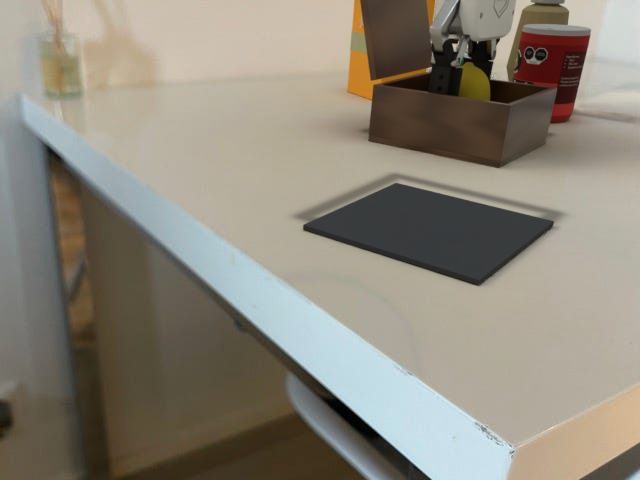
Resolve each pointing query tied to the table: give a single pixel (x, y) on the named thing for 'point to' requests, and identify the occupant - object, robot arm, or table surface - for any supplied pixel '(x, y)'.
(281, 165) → the table surface
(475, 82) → the lemon
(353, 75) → the orange juice
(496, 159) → the chest
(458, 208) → the mat
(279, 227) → the table surface
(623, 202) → the table surface
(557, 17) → the squeeze bottle
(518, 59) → the canned food
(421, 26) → the lid
